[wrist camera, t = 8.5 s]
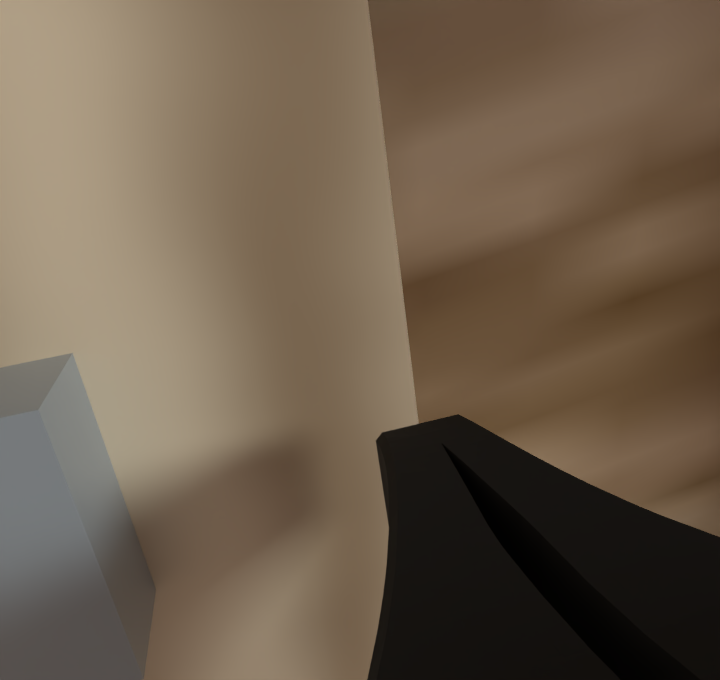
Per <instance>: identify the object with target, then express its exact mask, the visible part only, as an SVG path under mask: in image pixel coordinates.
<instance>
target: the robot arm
mask: <svg viewBox="0 0 720 680" xmlns="http://www.w3.org/2000/svg"><path fill="white" fill-rule="evenodd" d="M376 446H377V453H378V459H379V466H380V472H381V479H382V485H383V492H384V499H385V505H386V512H387V518H388V525H389V535H388V550H387V566H386V575H385V584H384V592H383V599H382V605H381V612H380V618H379V624H378V630H377V635H376V640H375V645H374V650H373V654H372V659H371V664H370V669H369V674H368V679H367V680H720V537H718V536H715V535H712V534H709V533H707V532H704V531H701V530H699V529H696V528H693V527H691V526H688V525H685V524H683V523H680V522H677V521H675V520H672V519H669V518H666V517H664V516H661V515H659V514H656V513H654V512H651V511H649V510H647V509H644V508H642V507H639V506H637V505H635V504H632V503H630V502H628V501H626V500H623V499H621V498H619V497H617V496H615V495H612V494H610V493H608V492H606V491H604V490H601V489H599V488H597V487H595V486H593V485H590V484H588V483H586V482H584V481H582V480H580V479H578V478H576V477H574V476H572V475H570V474H568V473H566V472H564V471H562V470H560V469H558V468H556V467H554V466H552V465H550V464H548V463H547V462H545V461H543V460H541V459H539V458H537V457H535V456H533V455H532V454H530V453H528V452H526V451H524V450H522V449H520V448H519V447H517V446H515V445H513V444H511V443H510V442H508V441H506V440H504V439H502V438H501V437H499V436H497V435H495V434H494V433H492V432H490V431H488V430H486V429H485V428H483V427H481V426H479V425H478V424H476V423H474V422H472V421H470V420H468V419H466V418H464V417H462V416H460V415H454V416H450V417H445V418H441V419H437V420H433V421H428V422H424V423H420V424H416V425H411V426H407V427H403V428H399V429H395V430H390V431H386V432H382V433H381V434H380V436H379V437H378V438H377V440H376Z"/></svg>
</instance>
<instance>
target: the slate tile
mask: <svg viewBox="0 0 720 680" xmlns="http://www.w3.org/2000/svg"><path fill="white" fill-rule="evenodd" d="M155 594H156V588H155V585H154V582H153V579H152V576H151V574H150V571H149V568H148V565H147V562H146V559H145V557H144V554H143V551H142V548H141V545H140V542H139V540H138V537H137V534H136V531H135V528H134V525H133V523H132V520H131V517H130V514H129V511H128V508H127V506H126V503H125V500H124V497H123V494H122V491H121V489H120V486H119V483H118V480H117V477H116V474H115V472H114V469H113V466H112V463H111V460H110V457H109V455H108V452H107V449H106V446H105V443H104V440H103V438H102V435H101V432H100V429H99V426H98V423H97V421H96V418H95V415H94V412H93V409H92V406H91V404H90V401H89V398H88V395H87V392H86V389H85V387H84V384H83V381H82V378H81V375H80V372H79V370H78V367H77V364H76V361H75V358H74V355H73V353H70V354H65V355H60V356H55V357H50V358H45V359H40V360H35V361H30V362H25V363H21V364H16V365H11V366H6V367H1V368H0V680H142V679H144V675H145V667H146V660H147V653H148V645H149V638H150V631H151V623H152V616H153V609H154V601H155Z"/></svg>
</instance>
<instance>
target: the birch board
mask: <svg viewBox="0 0 720 680" xmlns="http://www.w3.org/2000/svg"><path fill="white" fill-rule="evenodd" d="M70 353H73V355H74V358H75V361H76V364H77V367H78V370H79V372H80V375H81V378H82V381H83V384H84V387H85V389H86V392H87V395H88V398H89V401H90V404H91V406H92V409H93V412H94V415H95V418H96V421H97V423H98V426H99V429H100V432H101V435H102V438H103V440H104V443H105V446H106V449H107V452H108V455H109V457H110V460H111V463H112V466H113V469H114V472H115V474H116V477H117V480H118V483H119V486H120V489H121V491H122V494H123V497H124V500H125V503H126V506H127V508H128V511H129V514H130V517H131V520H132V523H133V525H134V528H135V531H136V534H137V537H138V540H139V542H140V545H141V548H142V551H143V554H144V557H145V559H146V562H147V565H148V568H149V571H150V574H151V576H152V579H153V582H154V585H155V588H156V594H155V601H154V609H153V616H152V623H151V631H150V638H149V645H148V653H147V660H146V667H145V675H144V679H142V680H367V679H368V674H369V669H370V664H371V659H372V654H373V650H374V645H375V640H376V635H377V630H378V624H379V618H380V612H381V605H382V599H383V592H384V584H385V575H386V566H387V550H388V535H389V525H388V518H387V512H386V505H385V499H384V492H383V485H382V479H381V472H380V466H379V459H378V453H377V446H376V440H377V438H378V437H379V436H380V434H381V433H382V432H386V431H390V430H395V429H399V428H403V427H407V426H411V425H416V424H419V423H418V415H417V406H416V398H415V390H414V381H413V373H412V365H411V356H410V348H409V340H408V331H407V323H406V315H405V306H404V298H403V290H402V281H401V273H400V265H399V256H398V248H397V240H396V231H395V223H394V215H393V206H392V198H391V190H390V181H389V173H388V165H387V157H386V148H385V140H384V132H383V123H382V115H381V107H380V98H379V90H378V82H377V73H376V65H375V57H374V48H373V40H372V32H371V23H370V15H369V7H368V0H0V368H1V367H6V366H11V365H16V364H21V363H25V362H30V361H35V360H40V359H45V358H50V357H55V356H60V355H65V354H70Z"/></svg>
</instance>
